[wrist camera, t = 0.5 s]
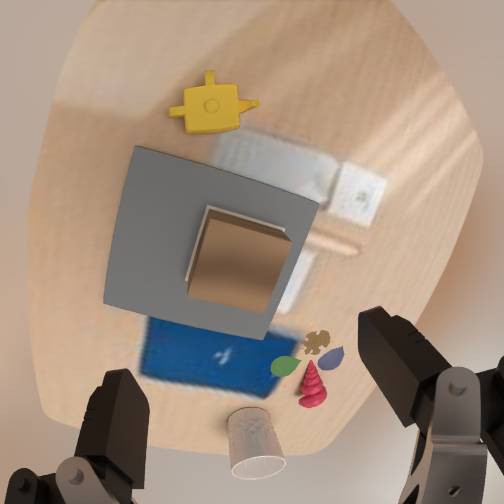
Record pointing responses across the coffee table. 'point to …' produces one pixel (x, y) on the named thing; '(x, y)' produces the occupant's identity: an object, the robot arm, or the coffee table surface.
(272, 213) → the gray board
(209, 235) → the base block
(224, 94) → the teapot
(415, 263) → the coffee table surface
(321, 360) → the toy pieces
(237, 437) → the white cup
